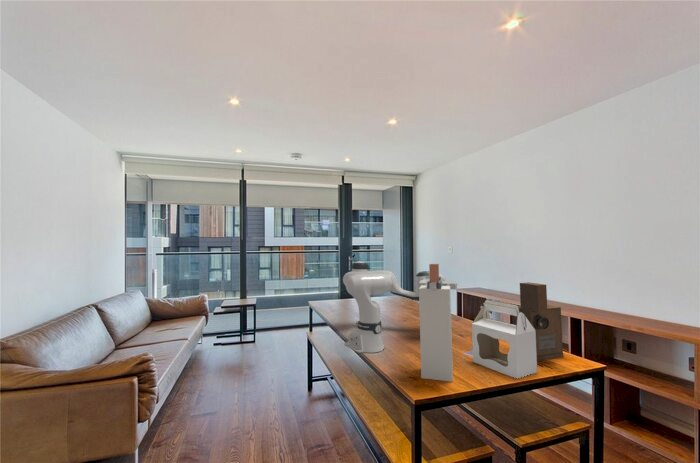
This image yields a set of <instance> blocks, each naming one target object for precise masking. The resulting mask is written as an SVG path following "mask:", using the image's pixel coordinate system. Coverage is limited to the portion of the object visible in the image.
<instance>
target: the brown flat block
mask: <svg viewBox="0 0 700 463" xmlns="http://www.w3.org/2000/svg"><path fill="white" fill-rule="evenodd" d="M439 266H440V265H439V263H429V271H430V281H431V283H430V284H429V289H430V291H436V290H437V287H438V281H439V280H441V277H439V274H440V267H439Z"/></svg>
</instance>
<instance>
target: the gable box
mask: <svg viewBox="0 0 700 463" xmlns="http://www.w3.org/2000/svg"><path fill="white" fill-rule="evenodd" d="M519 306H520V305H518V304H513V303H507V302H502V301H501V302H500V301H496V300H489V299H486V300H485V301H484V302H483V305H480V310H479V311H478V313H477V314H476V316H475V318H474V319H473V321H472V323H471V334H472V335H471V337H472V340H471V341H472V350H473V357H472V362H473V363H475V364H478V365H479V366H483V367H485V368H487V369H489V370H493V371H496V372H498V373H500V374H503V375H505V376H508V377H511V378H513V377H514V378H513V379H516V378H517V380H519V379H522V378H525V377H528V376H531V375H534V374H536V373H538V362H537V356H536V333H535V329H534V328H533V326H532V325H531V323H530V322H529V321H528V319H527V318H526V316H525V314H523V313H522V312H520V310H519ZM490 312H495V313H500V314H504V315H509V316H513V315H514V316H517V324H516V325H514V324H513V323H510V322H504V321H500V320H496V319H492V318H491V315H490ZM499 340H503V341H504V342H507V343H508V345H509V350H508V353H503V352H501V351H500V341H499ZM530 374H531V375H530ZM527 375H528V376H527ZM524 376H525V377H524ZM521 377H522V378H521ZM518 378H519V379H518Z"/></svg>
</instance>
